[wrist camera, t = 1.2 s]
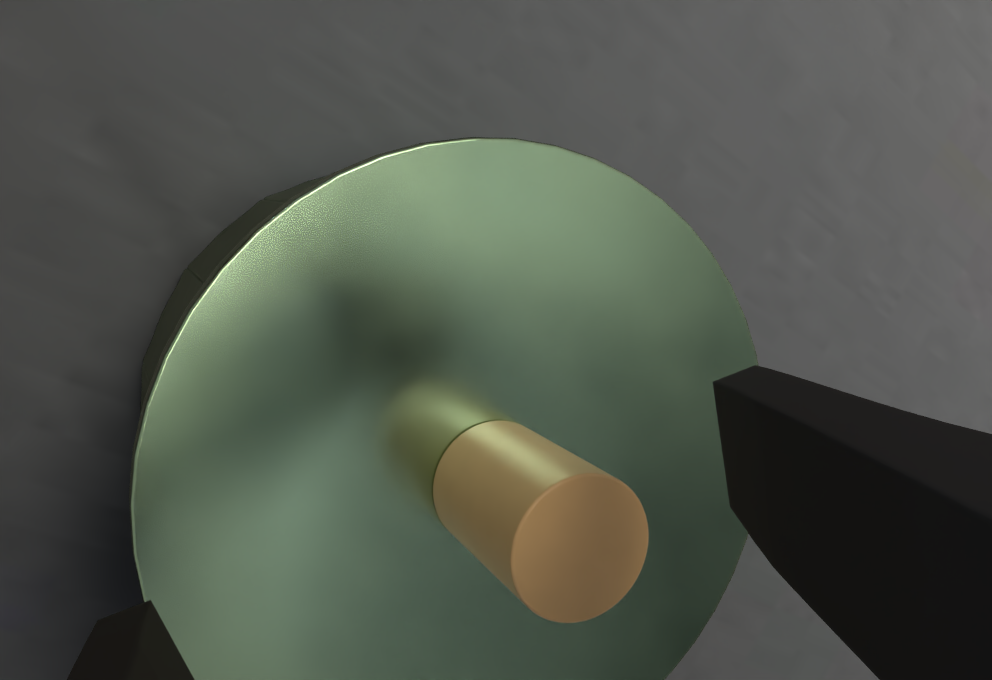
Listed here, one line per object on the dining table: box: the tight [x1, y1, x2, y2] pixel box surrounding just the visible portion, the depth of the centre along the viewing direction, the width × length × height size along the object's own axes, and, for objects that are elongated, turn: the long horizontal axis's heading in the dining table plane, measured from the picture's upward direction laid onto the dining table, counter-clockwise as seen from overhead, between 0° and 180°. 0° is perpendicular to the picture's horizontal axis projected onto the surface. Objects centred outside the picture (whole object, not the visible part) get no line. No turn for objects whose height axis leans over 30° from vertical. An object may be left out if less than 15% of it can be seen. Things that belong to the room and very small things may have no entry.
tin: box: [140, 175, 329, 415], centre depth 21 cm, size 12×12×6 cm
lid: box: [129, 137, 758, 680], centre depth 16 cm, size 13×13×5 cm
